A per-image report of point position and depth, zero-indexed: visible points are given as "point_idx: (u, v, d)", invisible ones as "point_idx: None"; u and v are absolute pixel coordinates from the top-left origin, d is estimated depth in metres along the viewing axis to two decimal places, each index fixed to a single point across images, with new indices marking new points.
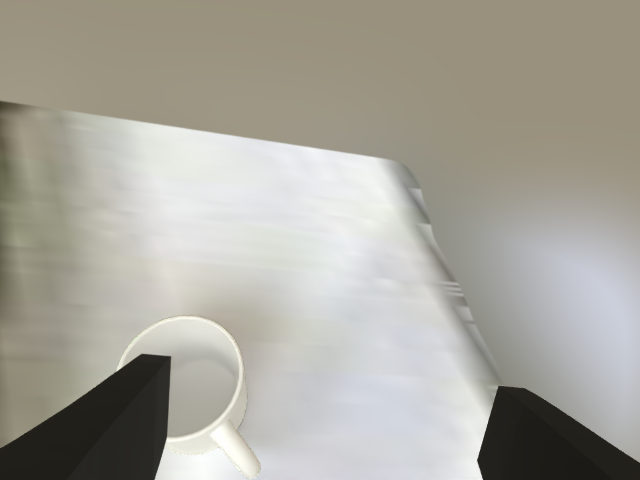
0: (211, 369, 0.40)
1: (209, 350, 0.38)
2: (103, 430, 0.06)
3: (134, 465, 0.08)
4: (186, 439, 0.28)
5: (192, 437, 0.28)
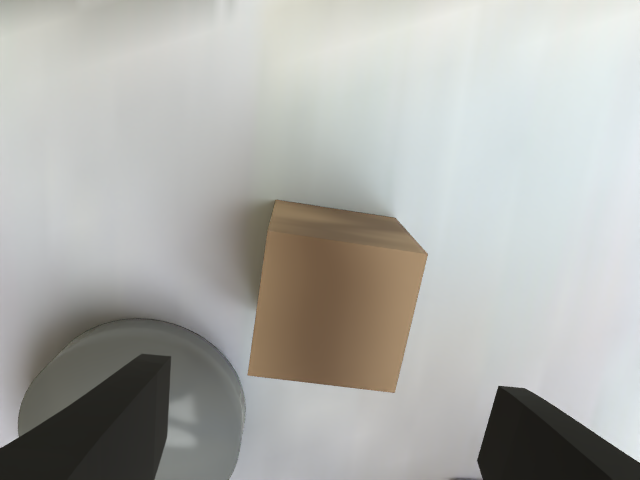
0: None
1: None
2: (103, 430, 0.06)
3: (134, 465, 0.08)
4: None
5: None
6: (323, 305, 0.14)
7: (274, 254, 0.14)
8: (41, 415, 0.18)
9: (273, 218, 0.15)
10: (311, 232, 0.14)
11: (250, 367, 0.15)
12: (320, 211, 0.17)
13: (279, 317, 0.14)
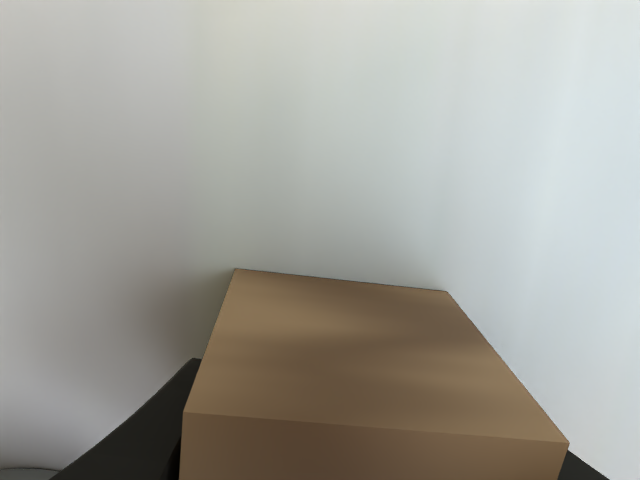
0: None
1: None
2: (177, 435, 0.06)
3: None
4: None
5: None
6: None
7: (204, 461, 0.06)
8: None
9: (213, 343, 0.07)
10: (293, 396, 0.06)
11: None
12: (315, 296, 0.09)
13: None
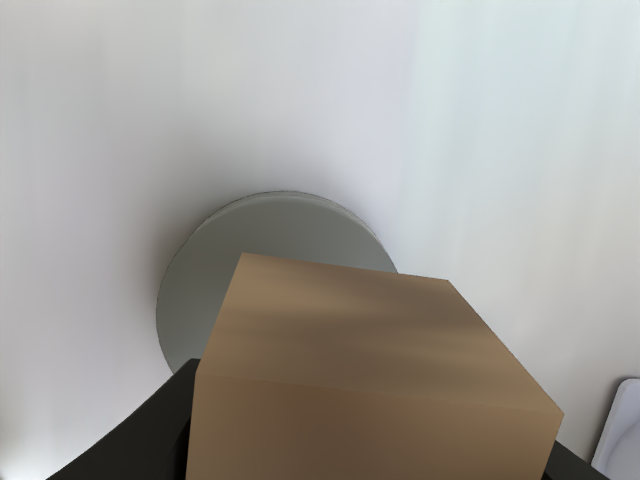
0: None
1: None
2: (175, 435, 0.06)
3: None
4: None
5: None
6: None
7: (214, 422, 0.06)
8: (183, 297, 0.16)
9: (223, 316, 0.07)
10: (300, 363, 0.06)
11: None
12: (320, 279, 0.10)
13: None
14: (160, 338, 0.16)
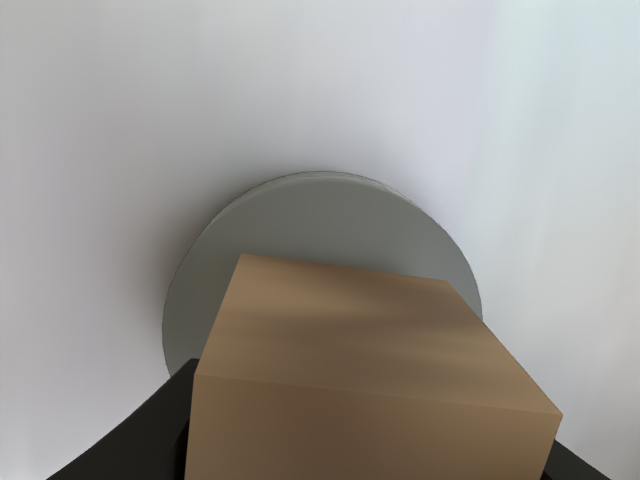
0: None
1: None
2: (175, 435, 0.06)
3: None
4: None
5: None
6: None
7: (212, 424, 0.06)
8: (197, 305, 0.12)
9: (222, 317, 0.07)
10: (299, 365, 0.06)
11: None
12: (319, 279, 0.10)
13: None
14: (167, 357, 0.13)
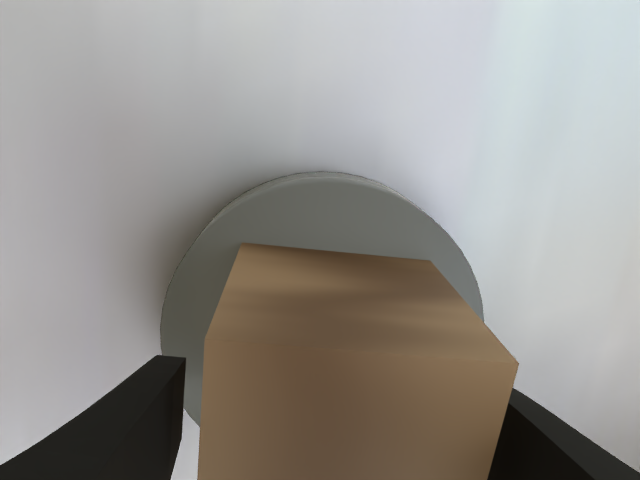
0: None
1: None
2: (125, 432, 0.06)
3: (152, 466, 0.08)
4: None
5: None
6: (322, 462, 0.08)
7: (221, 380, 0.07)
8: (195, 307, 0.12)
9: (226, 295, 0.08)
10: (293, 330, 0.07)
11: None
12: (312, 262, 0.11)
13: None
14: None
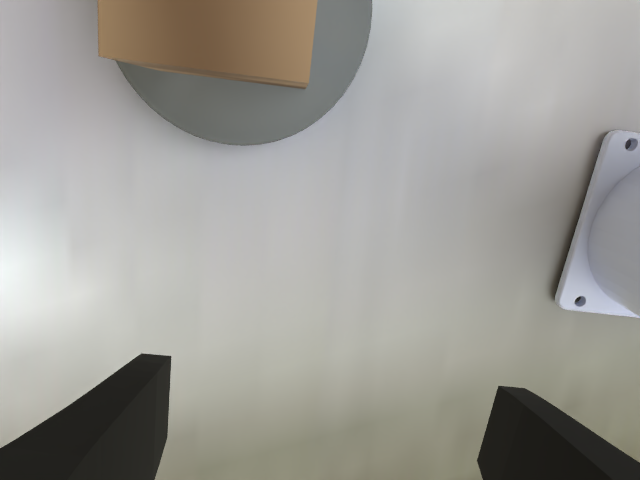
0: None
1: None
2: (103, 430, 0.06)
3: (134, 465, 0.08)
4: None
5: None
6: None
7: None
8: None
9: None
10: None
11: (100, 42, 0.11)
12: None
13: None
14: None
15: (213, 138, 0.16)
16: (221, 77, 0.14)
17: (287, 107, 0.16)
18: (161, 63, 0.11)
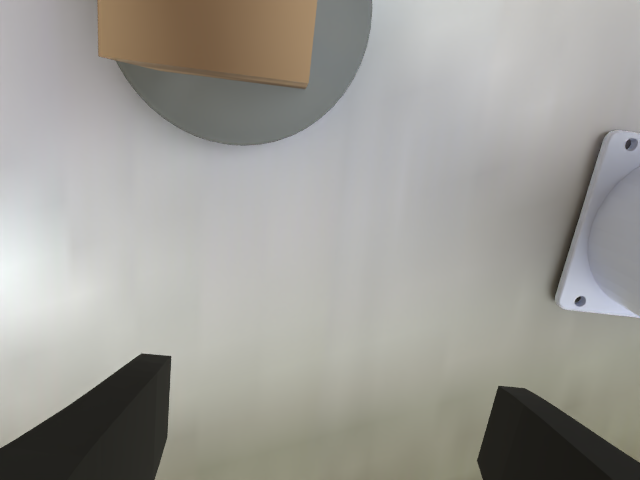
0: None
1: None
2: (103, 430, 0.06)
3: (134, 465, 0.08)
4: None
5: None
6: None
7: None
8: None
9: None
10: None
11: (100, 42, 0.11)
12: None
13: None
14: None
15: (213, 138, 0.16)
16: (221, 77, 0.14)
17: (287, 107, 0.16)
18: (161, 63, 0.11)
